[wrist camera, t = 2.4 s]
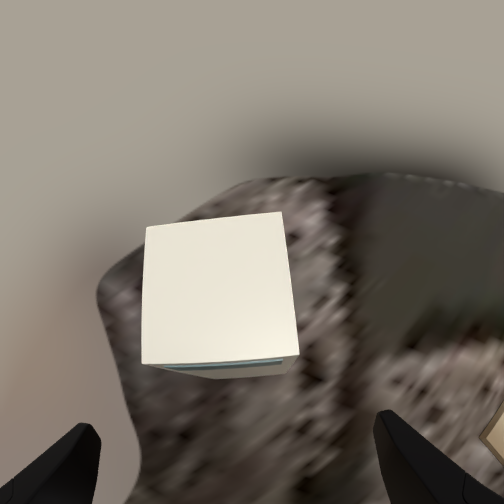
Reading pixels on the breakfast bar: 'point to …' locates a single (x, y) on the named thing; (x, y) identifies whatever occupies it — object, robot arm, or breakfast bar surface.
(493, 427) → the rail board
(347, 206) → the breakfast bar surface
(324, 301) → the breakfast bar surface
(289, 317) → the module block
